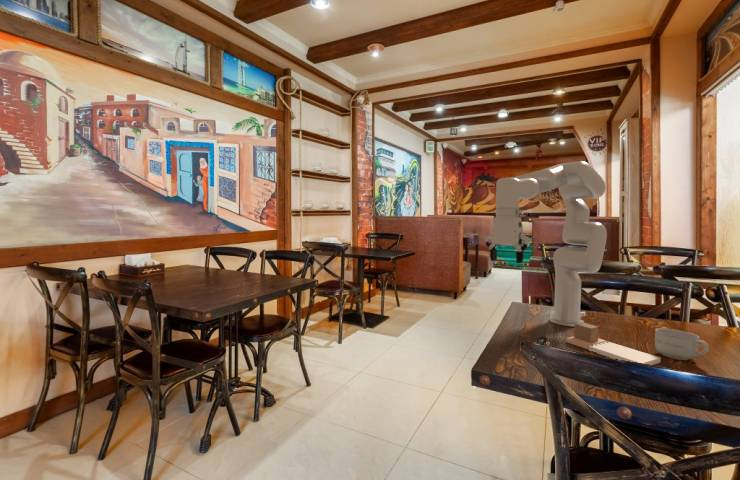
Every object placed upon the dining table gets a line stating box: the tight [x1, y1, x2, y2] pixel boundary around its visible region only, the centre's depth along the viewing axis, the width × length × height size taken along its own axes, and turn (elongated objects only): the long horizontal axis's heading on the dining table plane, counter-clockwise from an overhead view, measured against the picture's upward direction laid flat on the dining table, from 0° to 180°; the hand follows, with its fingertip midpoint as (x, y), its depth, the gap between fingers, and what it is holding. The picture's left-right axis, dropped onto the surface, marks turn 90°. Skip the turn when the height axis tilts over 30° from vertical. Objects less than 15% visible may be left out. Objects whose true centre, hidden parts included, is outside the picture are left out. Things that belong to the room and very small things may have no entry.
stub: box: [565, 322, 607, 350], centre depth 127 cm, size 10×8×6 cm
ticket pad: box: [588, 340, 662, 366], centre depth 116 cm, size 10×16×2 cm, turn 26°
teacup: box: [654, 327, 710, 361], centre depth 114 cm, size 14×11×8 cm
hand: (506, 261), depth 130 cm, fingers open, 9 cm apart
